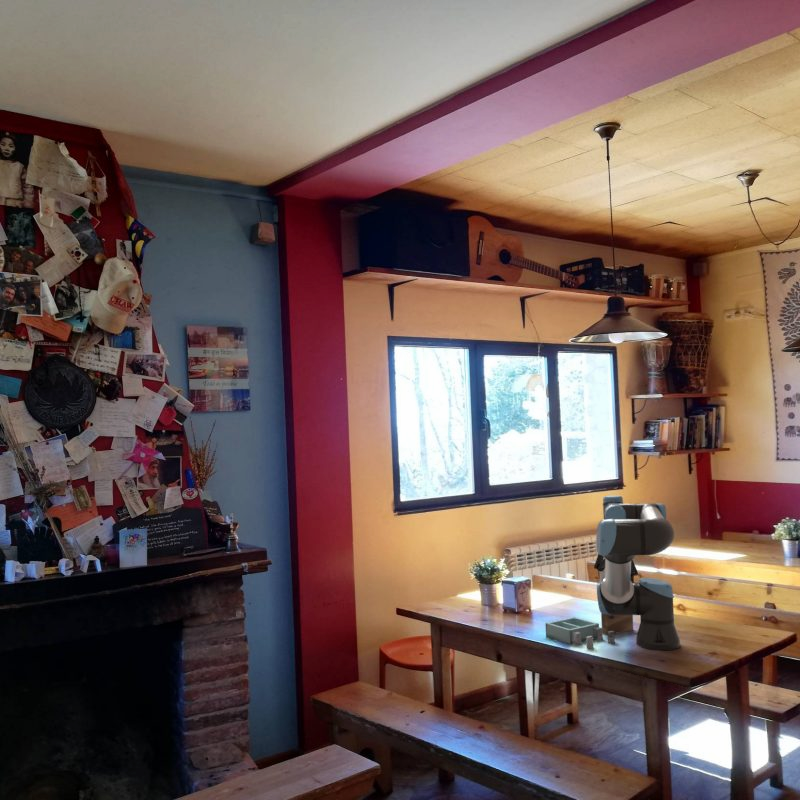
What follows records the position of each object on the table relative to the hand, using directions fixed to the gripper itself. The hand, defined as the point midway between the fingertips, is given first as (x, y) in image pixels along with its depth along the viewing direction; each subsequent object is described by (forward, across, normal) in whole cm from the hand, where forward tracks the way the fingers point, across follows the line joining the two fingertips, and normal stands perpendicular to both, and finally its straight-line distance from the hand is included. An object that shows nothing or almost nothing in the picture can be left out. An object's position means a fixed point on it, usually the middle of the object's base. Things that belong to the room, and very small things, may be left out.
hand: (616, 590), depth 306 cm
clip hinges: (+15, -7, +19) cm, 25 cm away
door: (+16, 0, 0) cm, 16 cm away
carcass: (+16, +5, +19) cm, 25 cm away
